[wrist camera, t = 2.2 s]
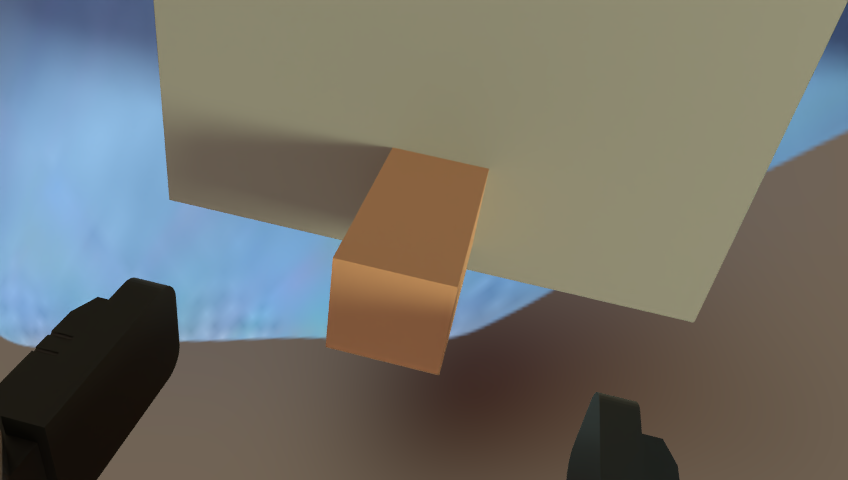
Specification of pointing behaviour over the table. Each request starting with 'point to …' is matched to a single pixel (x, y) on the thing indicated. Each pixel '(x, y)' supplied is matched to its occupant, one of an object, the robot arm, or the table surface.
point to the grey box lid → (486, 142)
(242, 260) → the table surface
